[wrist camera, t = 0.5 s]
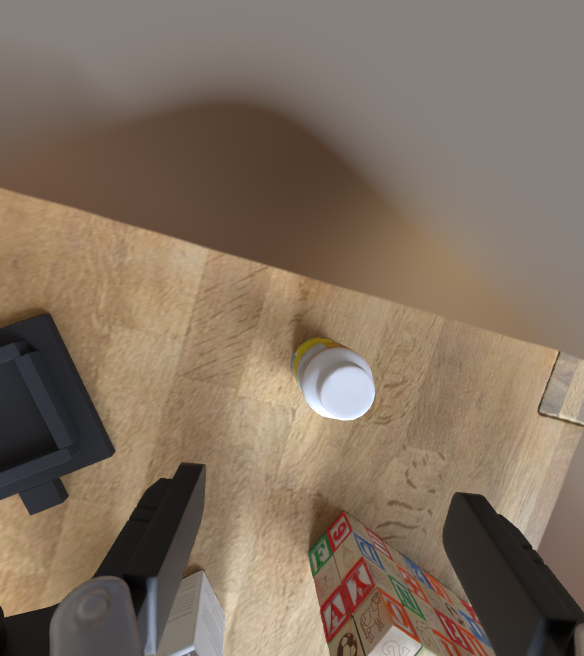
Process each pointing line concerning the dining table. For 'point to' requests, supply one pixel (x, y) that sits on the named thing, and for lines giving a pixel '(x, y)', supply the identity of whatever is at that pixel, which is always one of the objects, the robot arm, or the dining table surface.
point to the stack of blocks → (386, 600)
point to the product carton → (194, 621)
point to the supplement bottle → (333, 378)
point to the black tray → (43, 415)
